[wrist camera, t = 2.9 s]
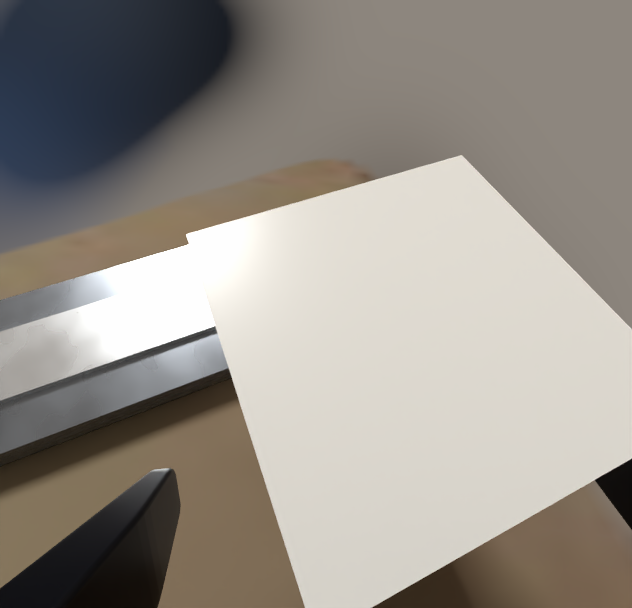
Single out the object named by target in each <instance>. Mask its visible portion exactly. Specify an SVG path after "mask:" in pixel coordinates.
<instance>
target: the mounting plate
mask: <svg viewBox="0 0 632 608" xmlns="http://www.w3.org/2000/svg"><path fill="white" fill-rule="evenodd" d="M229 378H232V377H231V374H230V371H229V367H228V364H227V361H226V358H225V355H224V352H223V349H222V346H221V342H220V339H219V336H218V333H217V330H216V327H215V324H214V321H213V317H212V314H211V311H210V308H209V305H208V302H207V299H206V295H205V292H204V289H203V286H202V283H201V280H200V277H199V274H198V270H197V267H196V264H195V261H194V258H193V255H192V252H191V249H190V245H186V246H183V247H180V248H176V249H173V250H169V251H166V252H163V253H159V254H156V255H152V256H149V257H146V258H142V259H139V260H135V261H132V262H129V263H125V264H122V265H118V266H115V267H112V268H108V269H105V270H101V271H98V272H95V273H91V274H88V275H84V276H81V277H78V278H74V279H71V280H67V281H64V282H61V283H57V284H54V285H50V286H47V287H44V288H40V289H37V290H33V291H30V292H27V293H23V294H20V295H16V296H13V297H10V298H6V299H3V300H0V466H2V465H5V464H7V463H10V462H13V461H15V460H18V459H20V458H23V457H26V456H28V455H31V454H33V453H36V452H39V451H41V450H44V449H47V448H49V447H52V446H54V445H57V444H60V443H62V442H65V441H67V440H70V439H73V438H75V437H78V436H80V435H83V434H86V433H88V432H91V431H94V430H96V429H99V428H101V427H104V426H107V425H109V424H112V423H114V422H117V421H120V420H122V419H125V418H127V417H130V416H133V415H135V414H138V413H141V412H143V411H146V410H148V409H151V408H154V407H156V406H159V405H161V404H164V403H167V402H169V401H172V400H174V399H177V398H180V397H182V396H185V395H188V394H190V393H193V392H195V391H198V390H201V389H203V388H206V387H208V386H211V385H214V384H216V383H219V382H221V381H224V380H227V379H229Z"/></svg>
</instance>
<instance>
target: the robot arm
mask: <svg viewBox="0 0 632 608" xmlns="http://www.w3.org/2000/svg"><path fill="white" fill-rule="evenodd" d="M595 481H596V482H597V484H598V485H599V486H600V488H601V489H602V490H603V492H604V493H605V495H606V496H607V497H608V499H609V500H610V501H611V503H612V504H613V505H614V507H615V508H616V509H617V511H618V512H619V513H620V515H621V516H622V517H623V519H624V520H625V521H626V523H627V524H628V525H629V527H630V528H631V529H632V459H630V460H628V461H627V462H625V463H623V464H621V465H620V466H618V467H616V468H614V469H613V470H611V471H609V472H607V473H606V474H604V475H602V476H600V477H599V478H597V479H595ZM179 514H180V498H179V491H178V485H177V479H176V474H175V472H174V470H173V469H171V468H169V469H156V470H152V471H151V472H149V473H148V474H147V475H145V476H144V477H143V478H141V479H140V480H139V481H138V482H136V483H135V484H134V485H133V486H131V487H130V488H129V489H127V490H126V491H125V492H124V493H122V494H121V495H120V496H118V497H117V498H116V499H115V500H113V501H112V502H111V503H109V504H108V505H107V506H106V507H104V508H103V509H102V510H100V511H99V512H98V513H97V514H95V515H94V516H93V517H91V518H90V519H89V520H88V521H86V522H85V523H84V524H82V525H81V526H80V527H79V528H77V529H76V530H75V531H73V532H72V533H71V534H70V535H68V536H67V537H66V538H65V539H63V540H62V541H61V542H59V543H58V544H57V545H56V546H54V547H53V548H52V549H50V550H49V551H48V552H47V553H45V554H44V555H43V556H41V557H40V558H39V559H38V560H36V561H35V562H34V563H32V564H31V565H30V566H29V567H27V568H26V569H25V570H23V571H22V572H21V573H20V574H18V575H17V576H16V577H14V578H13V579H12V580H11V581H9V582H8V583H7V584H5V585H4V586H3V587H2V588H0V608H157V607H158V604H159V601H160V597H161V593H162V589H163V585H164V581H165V576H166V572H167V568H168V563H169V559H170V554H171V550H172V546H173V541H174V537H175V532H176V528H177V524H178V519H179Z"/></svg>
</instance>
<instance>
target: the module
mask: <svg viewBox="0 0 632 608" xmlns="http://www.w3.org/2000/svg"><path fill="white" fill-rule="evenodd" d="M186 236H187V239H188V242H189V245H190V249H191V252H192V255H193V258H194V261H195V264H196V267H197V270H198V274H199V277H200V280H201V283H202V286H203V289H204V292H205V295H206V299H207V302H208V305H209V308H210V311H211V314H212V317H213V321H214V324H215V327H216V330H217V333H218V336H219V339H220V342H221V346H222V349H223V352H224V355H225V358H226V361H227V364H228V367H229V371H230V374H231V377H232V380H233V383H234V386H235V389H236V393H237V396H238V399H239V402H240V405H241V408H242V411H243V414H244V418H245V421H246V424H247V427H248V430H249V433H250V436H251V439H252V443H253V446H254V449H255V452H256V455H257V458H258V461H259V464H260V468H261V471H262V474H263V477H264V480H265V483H266V486H267V490H268V493H269V496H270V499H271V502H272V505H273V508H274V511H275V515H276V518H277V521H278V524H279V527H280V530H281V533H282V536H283V540H284V543H285V546H286V549H287V552H288V555H289V558H290V562H291V565H292V568H293V571H294V574H295V577H296V580H297V583H298V587H299V590H300V593H301V596H302V599H303V602H304V605H305V608H372V607H373V606H375V605H377V604H379V603H380V602H382V601H384V600H386V599H387V598H389V597H391V596H393V595H394V594H396V593H398V592H400V591H401V590H403V589H405V588H407V587H408V586H410V585H412V584H414V583H415V582H417V581H419V580H421V579H422V578H424V577H426V576H428V575H429V574H431V573H433V572H435V571H436V570H438V569H440V568H442V567H443V566H445V565H447V564H449V563H450V562H452V561H454V560H456V559H457V558H459V557H461V556H463V555H464V554H466V553H468V552H470V551H471V550H473V549H475V548H476V547H478V546H480V545H482V544H483V543H485V542H487V541H489V540H490V539H492V538H494V537H496V536H497V535H499V534H501V533H503V532H504V531H506V530H508V529H510V528H511V527H513V526H515V525H517V524H518V523H520V522H522V521H524V520H525V519H527V518H529V517H531V516H532V515H534V514H536V513H538V512H539V511H541V510H543V509H545V508H546V507H548V506H550V505H552V504H553V503H555V502H557V501H559V500H560V499H562V498H564V497H566V496H567V495H569V494H571V493H573V492H574V491H576V490H578V489H580V488H581V487H583V486H585V485H587V484H588V483H590V482H592V481H593V480H595V479H597V478H599V477H600V476H602V475H604V474H606V473H607V472H609V471H611V470H613V469H614V468H616V467H618V466H620V465H621V464H623V463H625V462H627V461H628V460H630V459H632V329H631V328H630V327H629V326H628V325H627V324H626V323H625V322H624V321H623V320H622V319H621V318H620V317H619V316H618V315H617V314H616V313H615V312H614V311H613V310H612V309H611V308H610V307H609V306H608V305H607V304H606V302H605V301H604V300H603V299H602V298H601V297H600V296H599V295H597V293H596V292H595V291H594V290H593V289H592V288H591V287H590V286H589V285H588V284H587V283H586V282H585V281H584V280H583V279H582V278H581V277H580V276H579V275H578V274H577V273H576V272H575V271H574V270H573V269H572V268H571V267H570V266H569V265H568V264H567V263H566V262H565V261H564V260H563V258H562V257H561V256H560V255H559V254H558V253H557V252H556V251H555V250H554V249H553V248H552V247H551V246H550V245H549V244H548V243H547V242H546V241H545V240H544V239H543V238H542V237H541V236H540V235H539V234H538V233H537V232H536V231H535V230H534V229H533V228H532V227H531V226H530V225H529V224H528V223H527V222H526V221H525V220H524V219H523V218H522V216H521V215H520V214H519V213H518V212H517V211H516V210H515V209H514V208H513V207H512V206H511V205H510V204H509V203H508V202H507V201H506V200H505V199H504V198H503V197H502V196H501V195H500V194H499V193H498V192H497V191H496V190H495V189H494V188H493V187H492V186H491V185H490V184H489V183H488V182H487V181H486V180H485V179H484V178H483V177H482V176H481V174H480V173H479V172H478V171H476V169H474V167H473V166H472V165H471V164H470V163H469V162H468V161H467V160H466V159H465V158H464V157H463V156H462V155H461V156H457V157H454V158H450V159H447V160H443V161H440V162H437V163H433V164H429V165H426V166H422V167H419V168H415V169H412V170H408V171H405V172H401V173H398V174H394V175H391V176H387V177H384V178H381V179H377V180H374V181H370V182H367V183H363V184H360V185H356V186H353V187H349V188H346V189H342V190H339V191H335V192H332V193H328V194H325V195H321V196H318V197H314V198H311V199H307V200H304V201H301V202H297V203H294V204H290V205H287V206H283V207H280V208H276V209H273V210H269V211H266V212H262V213H259V214H255V215H252V216H248V217H245V218H241V219H238V220H234V221H231V222H228V223H224V224H221V225H217V226H214V227H210V228H207V229H203V230H200V231H196V232H193V233H189V234H186Z"/></svg>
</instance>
